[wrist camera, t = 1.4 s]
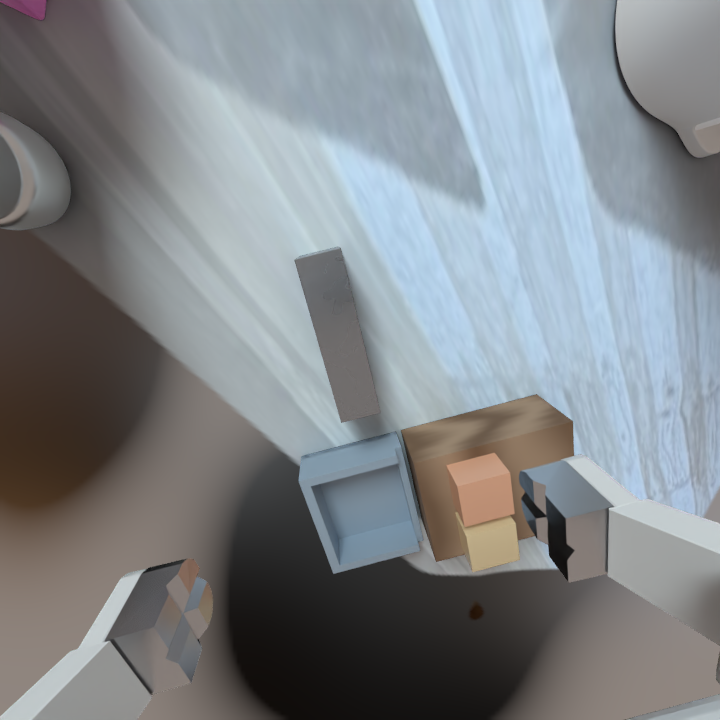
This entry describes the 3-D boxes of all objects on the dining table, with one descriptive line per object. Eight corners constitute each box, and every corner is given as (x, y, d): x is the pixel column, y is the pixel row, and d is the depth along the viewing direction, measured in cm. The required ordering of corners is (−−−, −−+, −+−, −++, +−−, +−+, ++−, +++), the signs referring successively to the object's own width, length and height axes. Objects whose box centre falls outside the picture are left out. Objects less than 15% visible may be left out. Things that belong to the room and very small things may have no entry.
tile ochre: (500, 500, 29) (515, 523, 27) (505, 535, 31) (519, 559, 28) (455, 512, 29) (466, 536, 27) (461, 546, 31) (472, 572, 28)
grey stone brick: (338, 246, 26) (340, 248, 22) (372, 385, 31) (380, 412, 26) (300, 256, 26) (294, 259, 22) (339, 394, 31) (341, 422, 26)
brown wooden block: (536, 394, 32) (572, 421, 27) (543, 487, 36) (575, 525, 31) (400, 430, 32) (413, 463, 27) (421, 519, 36) (436, 561, 31)
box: (395, 431, 32) (403, 453, 29) (417, 520, 36) (426, 549, 33) (301, 456, 32) (298, 481, 29) (332, 542, 36) (333, 573, 33)
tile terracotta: (494, 452, 28) (510, 472, 25) (499, 491, 29) (514, 513, 27) (446, 465, 28) (457, 486, 25) (453, 503, 29) (464, 527, 27)
